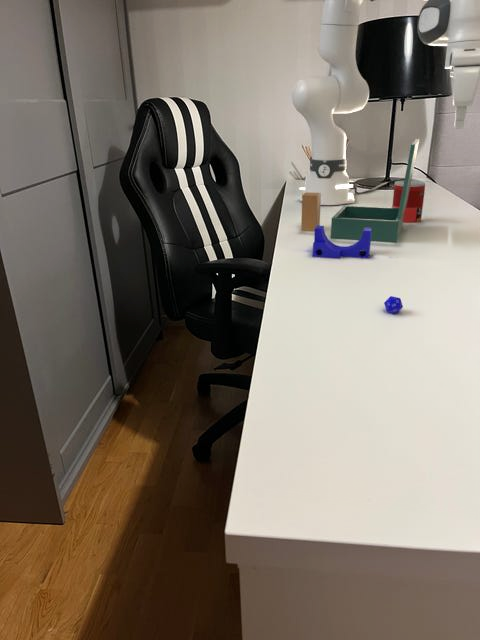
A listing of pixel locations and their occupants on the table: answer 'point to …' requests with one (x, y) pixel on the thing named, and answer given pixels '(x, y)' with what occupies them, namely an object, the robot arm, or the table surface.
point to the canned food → (410, 200)
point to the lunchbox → (367, 223)
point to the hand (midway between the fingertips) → (458, 128)
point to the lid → (408, 178)
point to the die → (393, 305)
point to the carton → (310, 211)
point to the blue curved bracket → (338, 251)
